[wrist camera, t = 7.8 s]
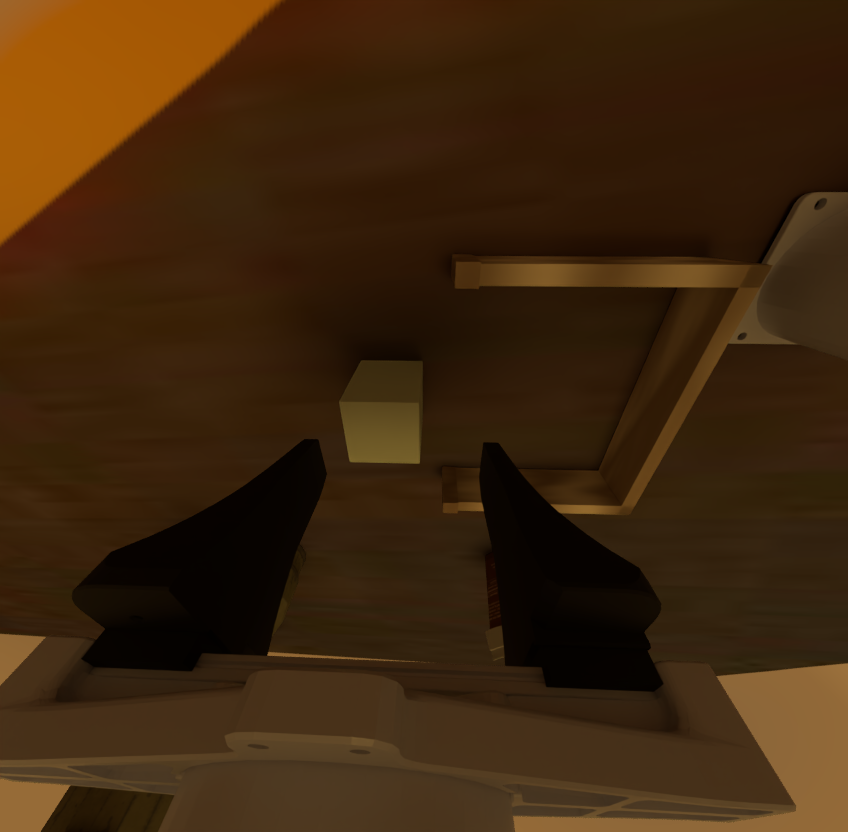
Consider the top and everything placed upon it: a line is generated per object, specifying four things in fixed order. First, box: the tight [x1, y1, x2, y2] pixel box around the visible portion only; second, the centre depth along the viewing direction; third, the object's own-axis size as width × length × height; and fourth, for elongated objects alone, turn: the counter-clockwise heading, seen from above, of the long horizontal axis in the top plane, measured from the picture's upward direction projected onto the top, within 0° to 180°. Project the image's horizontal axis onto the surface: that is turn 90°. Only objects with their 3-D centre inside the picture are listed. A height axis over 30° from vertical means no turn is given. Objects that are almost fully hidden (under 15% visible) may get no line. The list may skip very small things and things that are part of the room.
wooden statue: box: [41, 545, 306, 832], centre depth 21 cm, size 9×12×35 cm
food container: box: [485, 552, 504, 660], centre depth 30 cm, size 12×6×10 cm, turn 53°
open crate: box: [442, 254, 773, 515], centre depth 21 cm, size 15×18×4 cm
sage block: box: [339, 360, 423, 463], centre depth 20 cm, size 4×4×6 cm
